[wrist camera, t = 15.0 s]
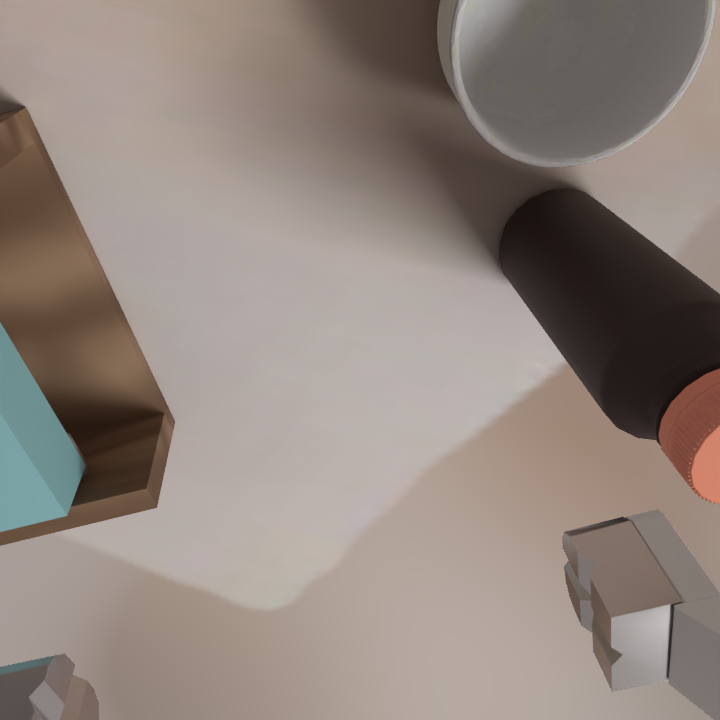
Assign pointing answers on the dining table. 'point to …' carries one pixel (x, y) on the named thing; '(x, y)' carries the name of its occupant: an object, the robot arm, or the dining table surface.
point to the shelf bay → (75, 340)
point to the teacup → (569, 71)
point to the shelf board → (31, 449)
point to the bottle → (624, 324)
